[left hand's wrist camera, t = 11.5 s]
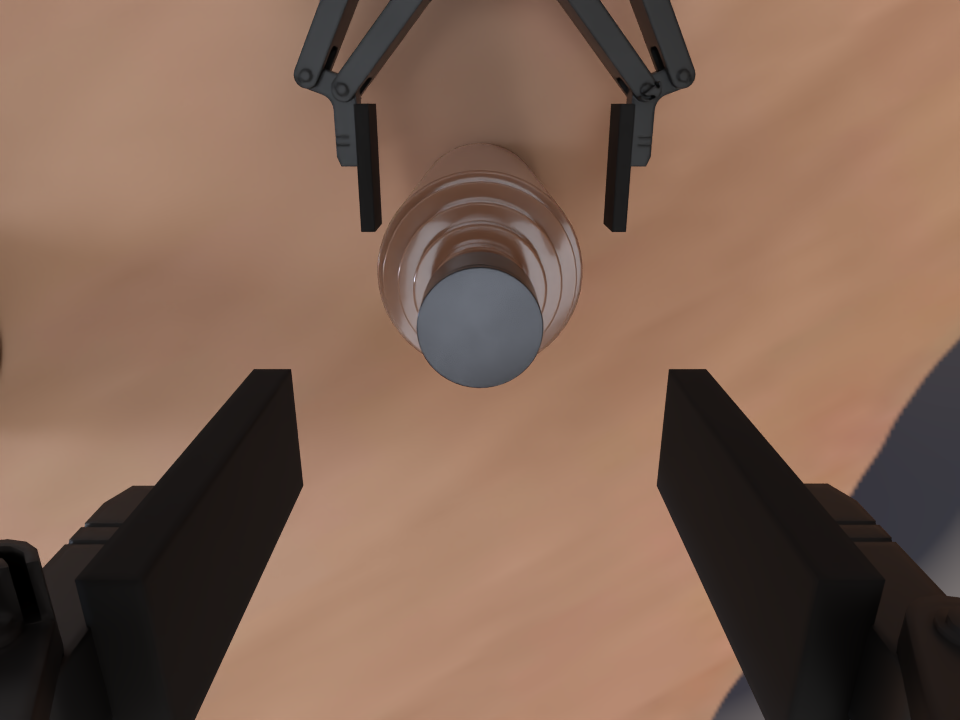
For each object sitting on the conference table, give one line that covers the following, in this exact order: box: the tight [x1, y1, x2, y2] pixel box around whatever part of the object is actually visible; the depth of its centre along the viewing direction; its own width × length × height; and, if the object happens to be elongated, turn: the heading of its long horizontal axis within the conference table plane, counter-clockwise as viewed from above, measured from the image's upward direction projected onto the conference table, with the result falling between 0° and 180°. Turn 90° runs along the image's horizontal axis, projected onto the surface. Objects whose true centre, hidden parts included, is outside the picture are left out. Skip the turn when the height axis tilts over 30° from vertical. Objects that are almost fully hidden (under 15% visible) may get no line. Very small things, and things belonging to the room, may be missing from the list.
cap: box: [416, 252, 543, 388], centre depth 22 cm, size 4×4×2 cm
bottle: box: [378, 143, 582, 354], centre depth 33 cm, size 8×8×25 cm
